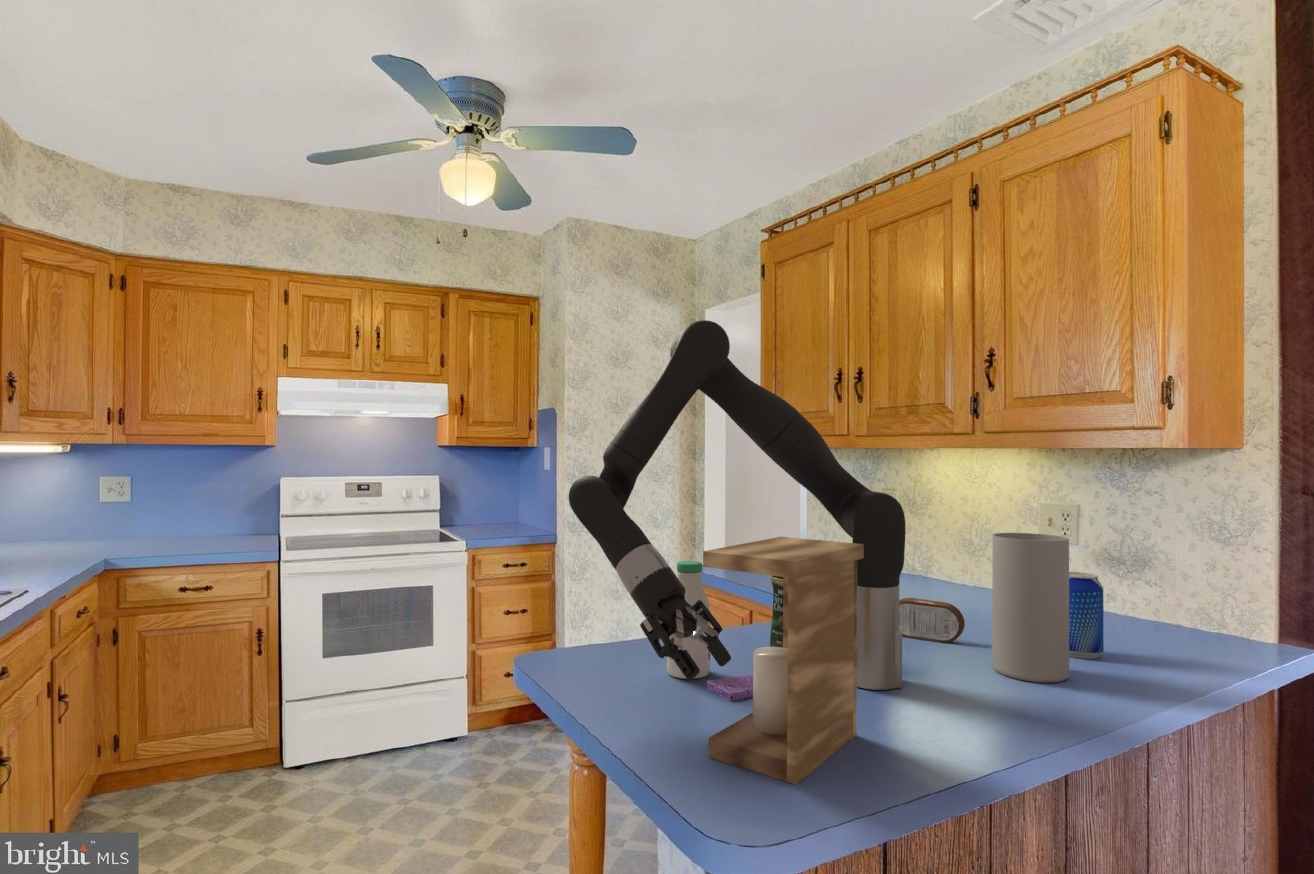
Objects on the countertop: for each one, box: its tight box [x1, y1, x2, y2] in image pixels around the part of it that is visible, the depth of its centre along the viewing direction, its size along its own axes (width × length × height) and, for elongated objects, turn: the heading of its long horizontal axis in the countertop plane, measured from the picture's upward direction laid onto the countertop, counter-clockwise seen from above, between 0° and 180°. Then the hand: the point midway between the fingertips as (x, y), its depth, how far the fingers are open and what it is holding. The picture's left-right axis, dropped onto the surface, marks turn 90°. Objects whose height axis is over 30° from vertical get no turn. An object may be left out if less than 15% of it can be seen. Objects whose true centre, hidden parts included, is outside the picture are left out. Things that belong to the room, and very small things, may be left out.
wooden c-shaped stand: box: [702, 536, 864, 785], centre depth 98 cm, size 13×22×27 cm, turn 143°
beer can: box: [1069, 571, 1105, 660], centre depth 145 cm, size 8×8×16 cm
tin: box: [899, 597, 965, 644], centre depth 155 cm, size 15×3×8 cm, turn 58°
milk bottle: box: [666, 560, 711, 680], centre depth 130 cm, size 8×8×20 cm
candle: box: [752, 646, 788, 735], centre depth 98 cm, size 6×6×10 cm
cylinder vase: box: [991, 532, 1070, 684], centre depth 132 cm, size 12×12×25 cm
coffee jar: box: [769, 575, 783, 648], centre depth 144 cm, size 10×8×19 cm
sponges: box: [706, 674, 753, 702], centre depth 121 cm, size 7×13×2 cm, turn 118°
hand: (711, 669), depth 104 cm, fingers open, 8 cm apart
